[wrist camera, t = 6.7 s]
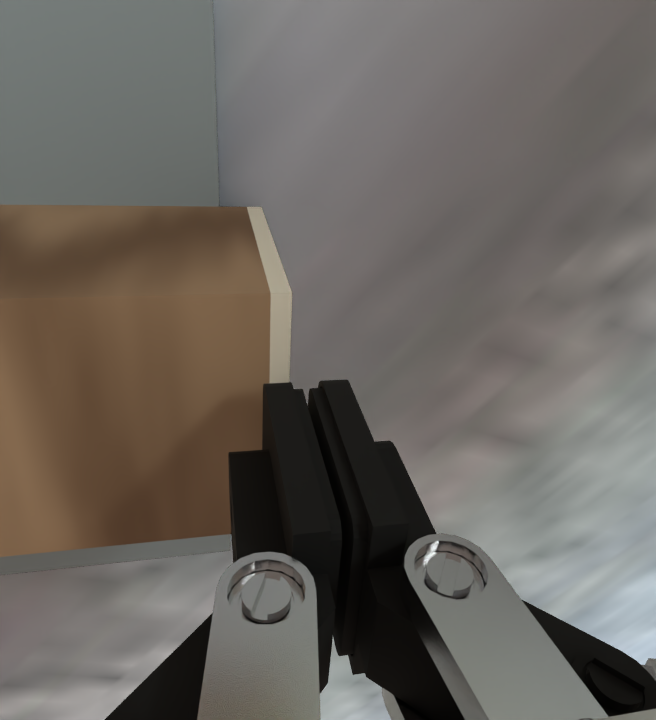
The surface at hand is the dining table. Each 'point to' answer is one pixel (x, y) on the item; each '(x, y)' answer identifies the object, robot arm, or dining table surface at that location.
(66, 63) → the slate mat
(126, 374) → the brown rectangular block
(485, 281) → the dining table surface
